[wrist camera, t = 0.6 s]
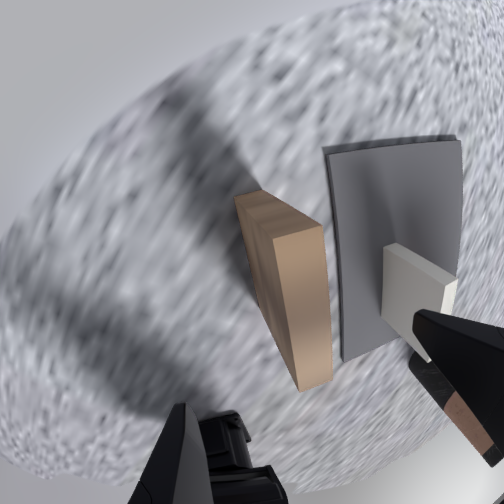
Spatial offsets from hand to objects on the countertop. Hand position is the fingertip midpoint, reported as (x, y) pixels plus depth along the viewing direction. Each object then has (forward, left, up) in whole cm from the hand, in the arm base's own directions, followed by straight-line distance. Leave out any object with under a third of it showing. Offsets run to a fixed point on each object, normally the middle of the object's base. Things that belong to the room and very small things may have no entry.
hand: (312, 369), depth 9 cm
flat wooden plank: (-1, -1, -12) cm, 12 cm away
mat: (-5, -15, -12) cm, 20 cm away
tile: (-7, -12, -11) cm, 18 cm away
